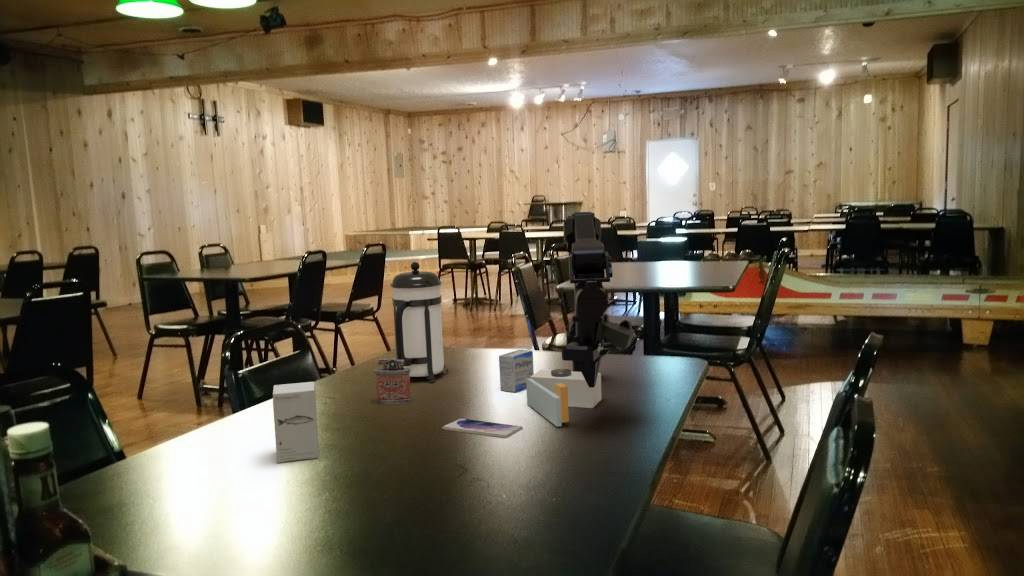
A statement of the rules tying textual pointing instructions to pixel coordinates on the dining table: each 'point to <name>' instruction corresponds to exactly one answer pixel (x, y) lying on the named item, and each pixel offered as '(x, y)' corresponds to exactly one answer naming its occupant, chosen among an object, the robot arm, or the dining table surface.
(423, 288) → the coffee press
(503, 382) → the medicine box
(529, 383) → the side door
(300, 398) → the supplement box
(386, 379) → the lighter
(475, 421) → the smartphone
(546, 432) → the dining table surface
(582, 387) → the camera housing
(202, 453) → the dining table surface
